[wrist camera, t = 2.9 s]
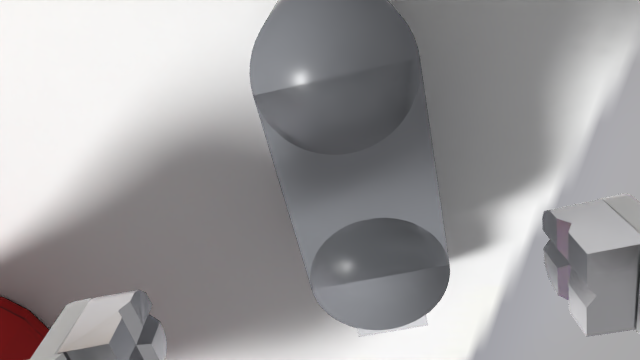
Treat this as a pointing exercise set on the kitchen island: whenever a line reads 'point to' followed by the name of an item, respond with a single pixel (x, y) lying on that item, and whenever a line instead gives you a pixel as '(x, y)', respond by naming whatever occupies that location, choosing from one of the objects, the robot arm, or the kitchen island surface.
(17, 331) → the plastic cup
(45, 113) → the kitchen island surface
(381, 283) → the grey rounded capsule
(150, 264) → the kitchen island surface
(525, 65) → the kitchen island surface
